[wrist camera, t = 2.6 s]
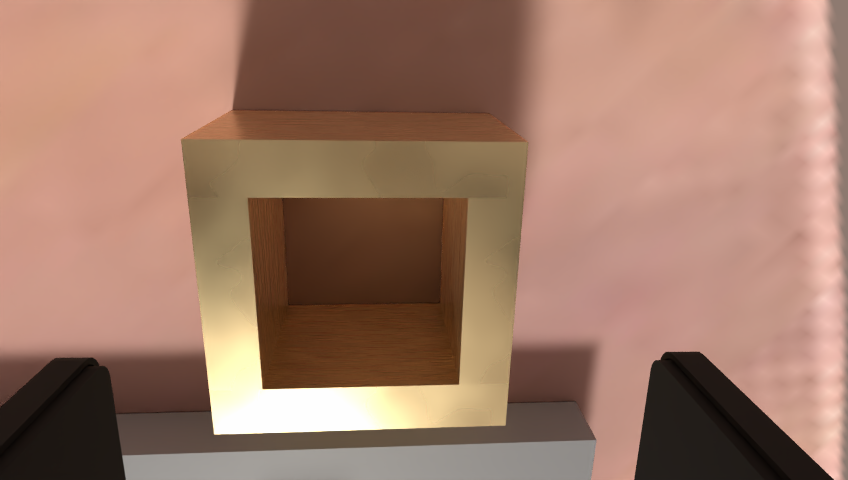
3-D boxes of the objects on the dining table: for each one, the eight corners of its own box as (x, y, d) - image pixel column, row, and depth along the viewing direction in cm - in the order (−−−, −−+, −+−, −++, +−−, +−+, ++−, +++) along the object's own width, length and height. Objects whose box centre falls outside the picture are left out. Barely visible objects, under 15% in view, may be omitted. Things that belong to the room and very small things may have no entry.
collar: (232, 110, 16) (181, 139, 12) (489, 113, 17) (528, 142, 12) (251, 341, 18) (214, 434, 14) (476, 337, 19) (505, 425, 15)
